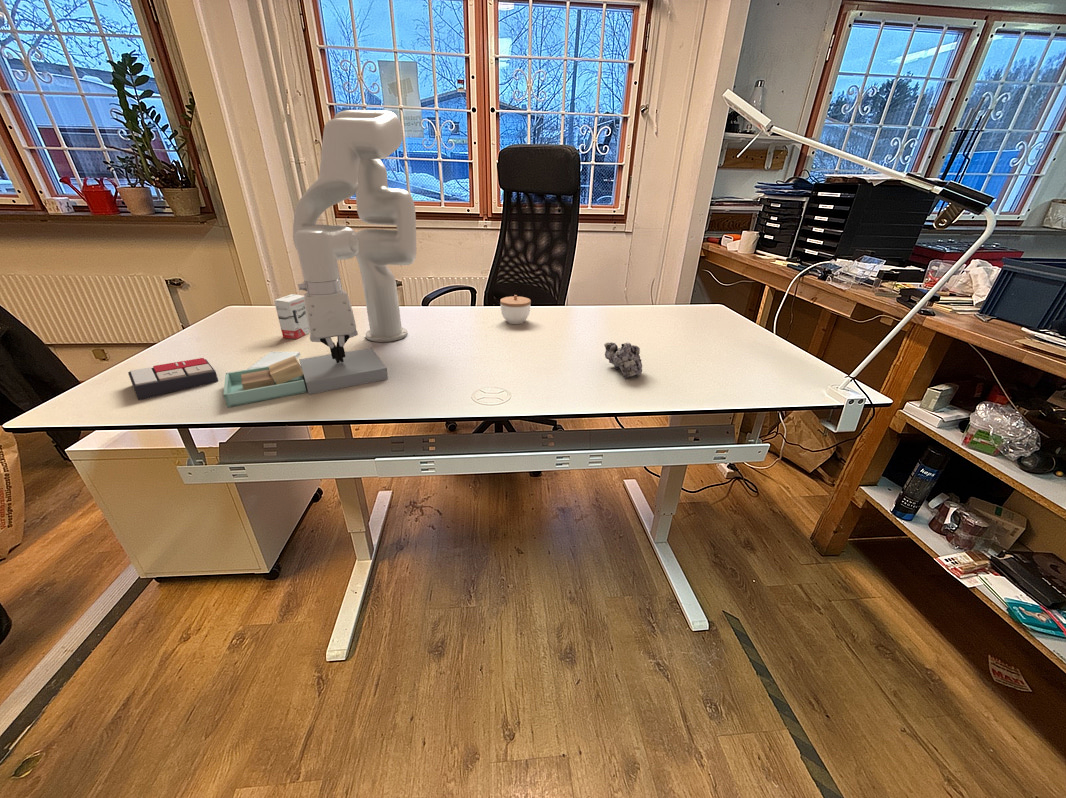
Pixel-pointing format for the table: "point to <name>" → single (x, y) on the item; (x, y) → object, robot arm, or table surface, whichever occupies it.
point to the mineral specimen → (624, 358)
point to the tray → (258, 389)
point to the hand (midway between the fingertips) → (339, 360)
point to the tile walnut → (257, 380)
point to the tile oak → (285, 370)
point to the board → (342, 370)
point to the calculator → (171, 377)
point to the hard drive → (273, 358)
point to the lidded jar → (515, 309)
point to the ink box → (292, 316)
